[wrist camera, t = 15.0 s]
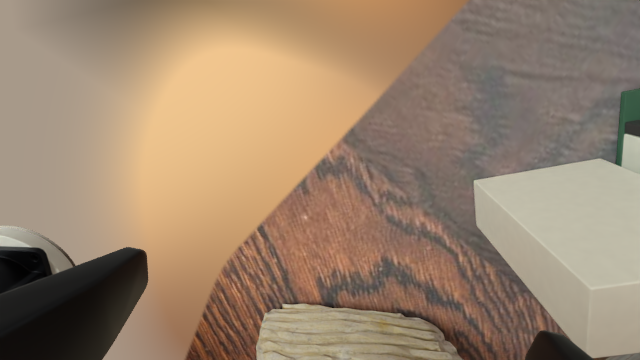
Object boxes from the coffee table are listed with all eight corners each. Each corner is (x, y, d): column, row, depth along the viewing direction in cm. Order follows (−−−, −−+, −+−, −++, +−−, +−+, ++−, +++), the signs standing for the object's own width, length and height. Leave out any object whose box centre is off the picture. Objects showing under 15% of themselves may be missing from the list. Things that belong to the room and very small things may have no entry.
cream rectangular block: (476, 225, 22) (586, 360, 12) (472, 180, 21) (590, 288, 11) (597, 205, 21) (813, 332, 11) (600, 157, 20) (839, 253, 10)
